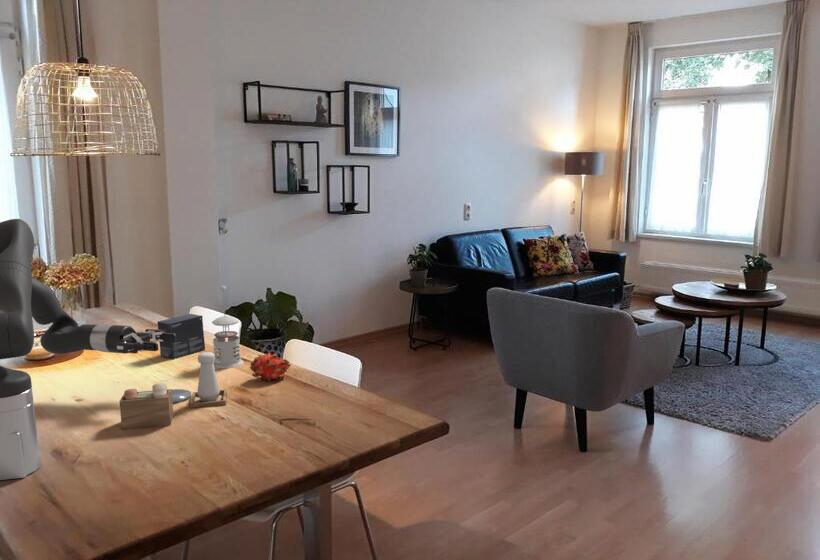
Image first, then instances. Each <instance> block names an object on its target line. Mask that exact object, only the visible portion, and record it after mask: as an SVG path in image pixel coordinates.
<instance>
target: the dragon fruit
mask: <svg viewBox="0 0 820 560" xmlns="http://www.w3.org/2000/svg"><path fill="white" fill-rule="evenodd" d="M253 359H254V360H252V361H251V362H250V367H248V368H250V370H251V372H252V374H251V376H252V377H254V378H258V377H260V380H261V381H264V380H266V381H268V382H270V381H271V380H275V379H276V380H282V379H283V378H284V374H285V373H287V371H288V369H289V368H290V367H291V365H292V364H291V363H290V362H289V360H288V359H285V358H283V357H279V356H278V354H277V353H274V352H273V354H271V353H269V352H268V353H264V355H262V354H261V353H260V354H258V355H257V357H256V356H255V358H253Z"/></svg>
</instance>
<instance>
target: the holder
mask: <svg viewBox="0 0 820 560" xmlns="http://www.w3.org/2000/svg"><path fill="white" fill-rule="evenodd" d="M220 395H223V398H222V400H216V401H210V402H202V401H200V402H195V400H196V397H199V396H198V394H197V391H193V392H192V393H191V397H190V402H189V409H191V408H202V407H203V408H205V407H215V406H226V404H227V398H228V389H220V393H219V395H218V396H220Z"/></svg>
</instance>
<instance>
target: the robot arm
mask: <svg viewBox="0 0 820 560" xmlns="http://www.w3.org/2000/svg"><path fill="white" fill-rule="evenodd" d="M34 251H35V238H34V234H33V231H32V228H31V227H30V226H29V224H28V223H27V222H26V221H24V220H23V219H21V218H11V219H8V220H4V221H0V311H1V312H0V360H7V359H15V358H16V359H17V358H21V357H24V356H27V355H29V354H30V353H31V352H32V349H33V348H34V343H35V332H34V322H33V321H35V322H36V323H37V324H38V325H41V326H46V325H49V324H51V325H49V327H48V328H47V330H46V331H45V332H43V334H42V335H41V336H40V340H39V341H40V346H41V348H42V349H44V350H45V351H46V352H48V353H51V354H55V355H64V354H69V353H75V352H79V351H80V352H81V351H83V350H85V351H86V350H87V351H96V352H101V353H113V354H137V353H138V352H141V353H143V352H144V351H146V352H147V351H148V352H157V351H159V350H160V347H159V342H160V341H167V342H175V341H176V340H177V339H176V334H174V333H166V330H158V328H155V329H153V328H146V329H145V330H141V331H137V332H136V329H135V330H134V328H133V327H132V326H130V325H121V324H89V323H86V324H81V325H79V323H78V322H77V321H76V319H74V318H73V317H72V316H71V315H70V314H69V313H68V312H66V311H65V310H64V308H62V306H61V305H60V303H59V302H58V300H57V299H56V297H55V295H54V293H53V291H52V290H51V289H50V288H49V287H48V286H47V285H46V283H43V282H42V281H40V280H39V279H36V278H35V277H33V275H32V260H33V257H34V256H33V255H34ZM159 335H160V336H159ZM32 384H33V383H32V377H31V375H30V374H29V373H28V372H26V371H23V370H17V369H13V368H8V367H6V366H3V365H0V481H4V480H11V479H13V480H14V479H24V478H26V477H27V475H29V474H32V473H33V472H36V471H37V470H38V469H39V468H40V467H41V466H42V459H41V452H40V444H39V436H38V428H37V427H38V426H37V420H36V418H37V417H36V412H35V411H36V410H35V403H34V394H33V393H34V392H33V386H32Z"/></svg>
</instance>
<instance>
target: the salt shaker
mask: <svg viewBox="0 0 820 560" xmlns="http://www.w3.org/2000/svg"><path fill="white" fill-rule="evenodd" d="M197 361H198V363H199V364H200V365H199V374H198V375H199V376H198V384H197V391H196V392H197V394H198V396H197V397H198V398H199V399H200V402H210V401H218V400H217V399H219V396H220V395H219V393H220V390H221V389H220V385H219V382H218V377H217V373H216V368H215V367H214V365H213V363H214V361H215V355H214V352H211V351H205V352H204V351H203V352H201V353H199V354H198V356H197Z"/></svg>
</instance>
